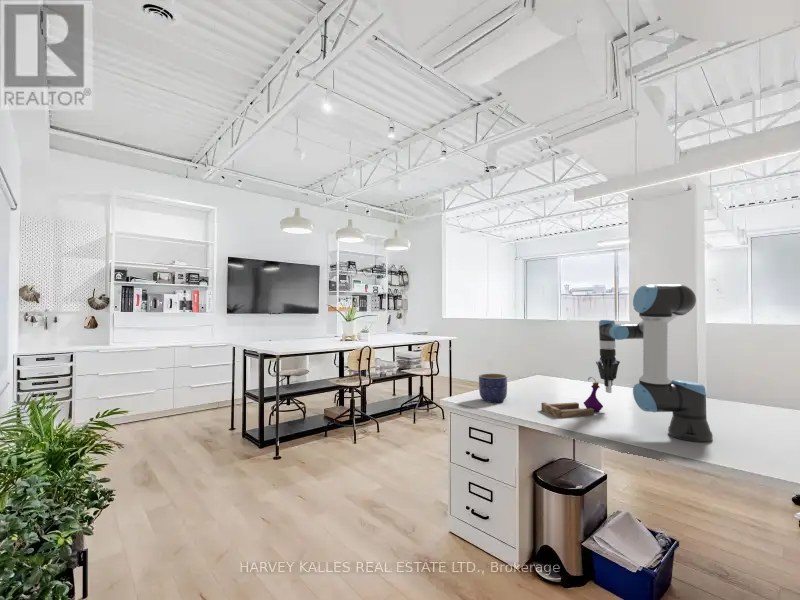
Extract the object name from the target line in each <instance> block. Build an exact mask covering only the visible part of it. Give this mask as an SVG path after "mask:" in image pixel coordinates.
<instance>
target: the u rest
mask: <svg viewBox="0 0 800 600" xmlns="http://www.w3.org/2000/svg"><path fill="white" fill-rule="evenodd" d="M541 411H543V412H544V413H547V414H548V415H550V414H551V416H552V417H554V416H555V417H554V418H556V417H557V419H558V418H559V419H561V418H572V417H573V418H575V417H589V416H595V412H594V409H592V408H586V407H585V408H580V403H579V402H564V403H563V402H561V403H546V402H541Z"/></svg>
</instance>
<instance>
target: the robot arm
mask: <svg viewBox="0 0 800 600" xmlns="http://www.w3.org/2000/svg"><path fill="white" fill-rule="evenodd" d="M632 299H633V300H632V305H633V309H634V310H635V311H634V312H636V313H639V314H638V315H639V318H640V319H642V320H641V321H640V322H639V323H635V324H634V323H631V324H629V323H626V324H625V323H623V324H622V323H621V324H616V322H615V320H614V319H600V320H599V322H598V323H599V324H598V332H599V334H598V335H599V356H600V357H599V360H597V361H595V364H596V366H597V369H598V373H599V378H600V379H602V380H603V381H604V383H603V384H604V387H605V392H606V393H608V394H612V391H613V390H612V389H613V388H612V387H613V381H615V379H617V375H618V370H619V365H620V363H621V362H620V360H618V359H616V354H617V353H616V349H615V348H616V341H617V340H618V341H619V340H620V341H622V340H639V339H640V340H641V339H642V341H643V343H642V346H643V347H642V348H643V349H642V353H643V355H642V356H643V358H642V360H643V361H642V362H643V363H642V364H643V365H642V367H643V368H642V373H643V375H641V376H640V377H639V379H638V382H639V383H636V384H634V386H633V388H632V395H633V398H634V401H635V403H636V405H637V406H638V408H639V409H640V410H641V411H644V412H646V413H672V415H671V420H670V423H669V426H668V429H667V431H668V435H669V436H670V437H673V438H675V439H679V440H683V441H688V442H695V443H707V442H712V441H713V432H712V431H711V428H710V425H709V423H708V420H707V419H708V418H707V391H706V388H705V386H704V385H703V384H701V383H698V382H695V381H689V380H683V379H670V378H669V377H668V324H669V323H670V322H672V321H673V320H675V319H676V318H677V317H679V316H680V317H681V316H684V315H687V314H688V313H690V312H691V311H692V310H693V309H694V308H695V306H696V303H697V297H696V294H695V292H694V291H693V290H692V289H691V288H690V287H689V286H686V285H683V284H681V283H680V284H678V283H674V284H647V285H646V284H645V285H642V286H640V287H638V288H637V289H636V291H635V293H634V296H633V298H632Z"/></svg>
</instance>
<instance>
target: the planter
mask: <svg viewBox="0 0 800 600" xmlns="http://www.w3.org/2000/svg"><path fill="white" fill-rule="evenodd" d="M478 389H479V396H480V398H481V399H482V400H483V401H484V402H487V403H494V404H495V403H502V402H504V401H505V400H506V398H507V396H508V376H507V375H506V374H502V373H482V374H479V375H478Z"/></svg>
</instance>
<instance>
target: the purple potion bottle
mask: <svg viewBox="0 0 800 600" xmlns="http://www.w3.org/2000/svg"><path fill="white" fill-rule="evenodd" d="M590 379H593V380H594V382H592V385H591V388H592V390H591V394H589V396H588V398H586V400H585V401H584V402H583V404H584V405H583V406H585V408H592V409H594V413H598V412H599V413H600V411H601V410H602V409H603V407H604V405H603V404H602V403H601V402H600V401H599V399H598V398H597V390H599V389H600V388H601V386H600V385H599V384H600V383H599V382H597V381H596V379H595V377H593V376H589V377H588V379H587V381H590Z"/></svg>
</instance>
